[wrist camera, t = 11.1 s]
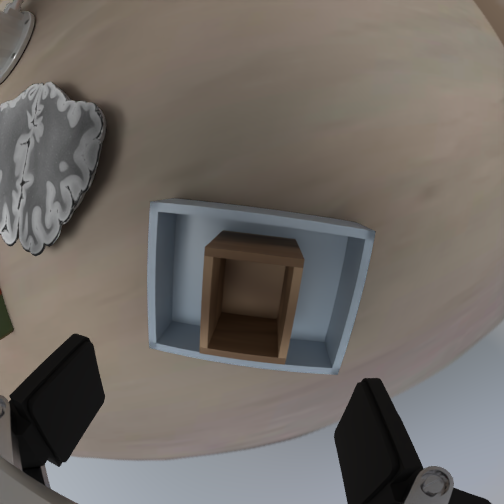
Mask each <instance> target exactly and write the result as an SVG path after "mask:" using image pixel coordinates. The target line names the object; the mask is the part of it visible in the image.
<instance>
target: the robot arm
mask: <svg viewBox="0 0 504 504" xmlns="http://www.w3.org/2000/svg"><path fill="white" fill-rule="evenodd" d="M23 1H24V0H13V3H8V4H7V5H6V7H5V9H4V12H2V11H0V83H1V82H2V81H4V79H5V78H6V77H7V76H8V75H9V73H10V72H11V70H12V69H13V68H14V66H15V65H16V63H17V62H18V60H19V58H20V57H21V55H22V53H23V51H24V49H25V47H26V45H27V43H28V41H29V39H30V37H31V34H32V31H33V27H34V21H35V18H34V15H33V14H32V13H31V12H28V11H23V12H20V10H21V7H20V6H21V4H22V3H23ZM10 398H11V400H10V401H9V402H8V400H7V399H6V398H5V397H4V396H2V395H0V504H77V503H75V502H73V501H72V500H70V499H68V498H66V497H64V496H62V495H60V494H58V493H57V492H55V491H53V490H52V489H51V488H50V484H49V481H48V477H47V473H46V468H45V463H46V461H47V460H48V461H50V462H51V463H53V464H55V465H57V466H58V467H60V465H61V464H62V462H66V461H67V460H68V458H69V457H70V455H71V453H72V452H73V450H74V449H75V447H76V445H77V444H78V442H79V440H80V439H81V437H82V436H83V434H84V432H85V431H86V429H87V428H88V426H89V425H90V423H91V421H92V420H93V418H94V417H95V415H96V414H97V412H98V411H99V409H100V407H101V406H102V404H103V403H104V399H105V394H104V390H103V386H102V382H101V378H100V374H99V370H98V365H97V361H96V356H95V351H94V346H93V344H92V343H91V342H90V339H89V338H87V337H85V336H82V335H79V334H73V335H72V336H71V337H69V338H68V339H67V340H66V341H65V342H64V343H63V344H62V345H61V346H60V347H59V348H58V349H57V350H55V351H54V352H53V353H52V354H51V355H50V356H49V357H48V358H47V359H46V360H45V361H44V362H43V363H42V364H41V365H40V366H39V367H38V368H37V369H36V370H35V371H34V372H33V373H32V374H31V375H30V376H29V377H27V378H26V379H25V380H24V381H23V383H22V384H21V385H20V386H19V387H18V388H17V389H16V390H15V391H14V392H13V393H12V394H11V395H10ZM334 438H335V444H336V448H337V453H338V458H339V463H340V467H341V472H342V477H343V482H344V487H345V492H346V497H347V502H348V504H491V503H490V502H489V501H488V500H486V499H484V498H481V497H478V496H475V495H472V494H469V493H466V492H464V491H461V490H458V489H456V488H453V486H454V482H453V478H452V476H451V474H450V473H449V472H448V471H447V470H446V469H444V468H441V467H437V466H431V467H427V468H424V469H423V466H422V464H421V462H420V459H419V457H418V455H417V453H416V451H415V448H414V446H413V444H412V442H411V440H410V437H409V435H408V433H407V431H406V429H405V427H404V425H403V422H402V420H401V418H400V416H399V415H398V413H397V411H396V409H395V407H394V405H393V403H392V401H391V399H390V397H389V395H388V393H387V391H386V389H385V387H384V385H383V383H382V381H381V379H379V378H365V379H363V380H362V381H361V382H359V383H357V385H356V387H355V389H354V392H353V394H352V396H351V399H350V401H349V403H348V405H347V407H346V409H345V412H344V414H343V416H342V418H341V420H340V422H339V424H338V426H337V428H336V430H335V434H334Z"/></svg>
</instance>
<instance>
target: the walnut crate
mask: <svg viewBox="0 0 504 504" xmlns="http://www.w3.org/2000/svg"><path fill="white" fill-rule="evenodd" d="M304 260H305V259H304V257H303V255H302V252H301V250H300V248H299V246H298V243H297V241H296V239H291V238H283V237H275V236H267V235H259V234H251V233H242V232H234V231H225V230H223V231H221V232H220V233H219V234H218V235H217V236H216V237H215V238H214V239H213V240H212V241H211V242H210V243H209V244H207V245H206V246H205V251H204V265H203V281H202V300H201V322H200V352H199V353H201V354H207V355H213V356H219V357H225V358H232V359H239V360H247V361H255V362H263V363H272V364H282V365H285V362H286V357H287V352H288V348H289V343H290V338H291V333H292V328H293V323H294V317H295V312H296V307H297V301H298V296H299V290H300V284H301V279H302V273H303V267H304Z"/></svg>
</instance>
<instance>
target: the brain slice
mask: <svg viewBox="0 0 504 504" xmlns="http://www.w3.org/2000/svg"><path fill="white" fill-rule="evenodd" d="M105 133H106V120H105V116H104V114H103V112H102V110H101V109H100V108H99V107H98V106H97V105H96V104H94V103H93V102H91V103H88V102H86V101H73V100H71V99H70V98H69V97H68V96H67V95H66V93H65V92H64V91H63V90H61V89H60V88H59V87H58V86H56V85H55V84H54V83H52V82H46V83H45V84H43V83H40V84H39V83H38V84H32V85H31V86H30V87H28V88H27V89H26V90H25V91H23V92H22V93H21V94H20V95H19V96H18V97H17V98H15V99H14V100H9V101H6V102H5V103H2V104H1V105H0V235H1V236H2V238H3V240H4V242H5V243H6V244H7V245H8V246H13V245H14V244H15V243H16V241H17V240H18V238H19V239H20V242H21V245H22V247H23V249H24V250H25V251H27V252H31V254H32V255H34V256H38V255H40V254H41V253H42V252H43V250H44V249H45V247H46V246H51V245H53V244H54V242H55V241H56V240H57V238H58V237H59V235H60V231H61V227H62V225H63V224H66V223H67V222H69V220H70V219H71V217H72V215H73V213H74V211H75V210H76V209H77V207H78V206H79V205H80V203H81V202H82V200H83V198H84V195H85V193H86V191H88V190H89V188H90V186H91V185H92V182H93V179H94V176H95V173H96V168H97V165H98V162H99V157H100V153H101V149H102V142H103V140H104V137H105Z"/></svg>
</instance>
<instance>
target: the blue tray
mask: <svg viewBox="0 0 504 504" xmlns="http://www.w3.org/2000/svg"><path fill="white" fill-rule="evenodd" d="M223 230H225V231H234V232H242V233H251V234H259V235H267V236H275V237H283V238H291V239H296V241H297V243H298V246H299V248H300V250H301V252H302V255H303V257H304V259H305V260H304V267H303V273H302V279H301V284H300V290H299V296H298V301H297V307H296V312H295V317H294V323H293V328H292V333H291V338H290V343H289V348H288V352H287V357H286V362H285V365H282V364H272V363H263V362H255V361H247V360H239V359H232V358H225V357H219V356H213V355H207V354H201V353H199V352H200V322H201V300H202V281H203V265H204V251H205V246H206V245H207V244H209V243H210V242H211V241H212V240H213V239H214V238H215V237H216V236H217V235H218V234H219V233H220V232H221V231H223ZM375 232H376V231H374V230H372V229H369V228H367V227H365V226H363V225H361V224H359V223H356V222H352V221H346V220H340V219H334V218H327V217H321V216H315V215H308V214H301V213H294V212H287V211H280V210H273V209H266V208H258V207H250V206H242V205H234V204H225V203H216V202H207V201H198V200H188V199H177V198H171V199H164V200H158V201H151V202H150V216H149V234H148V270H147V294H148V329H149V347H150V348H152V349H156V350H161V351H165V352H169V353H174V354H178V355H183V356H188V357H193V358H198V359H204V360H209V361H215V362H221V363H227V364H233V365H240V366H247V367H255V368H263V369H271V370H281V371H291V372H303V373H317V374H336V375H338V372H339V369H340V366H341V363H342V360H343V357H344V354H345V351H346V348H347V345H348V342H349V338H350V335H351V332H352V328H353V325H354V321H355V318H356V314H357V311H358V307H359V303H360V299H361V296H362V292H363V288H364V284H365V279H366V275H367V271H368V266H369V262H370V257H371V252H372V247H373V242H374V237H375Z"/></svg>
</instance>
